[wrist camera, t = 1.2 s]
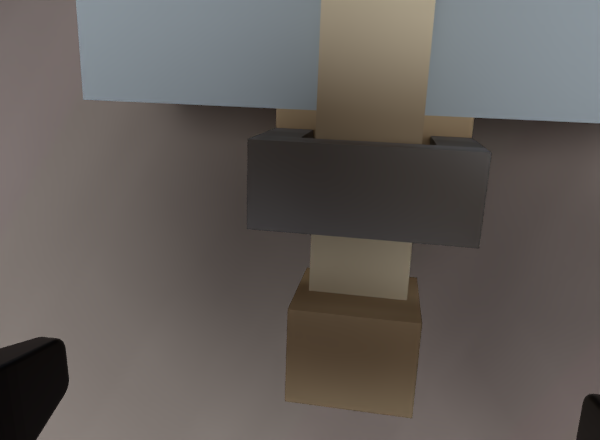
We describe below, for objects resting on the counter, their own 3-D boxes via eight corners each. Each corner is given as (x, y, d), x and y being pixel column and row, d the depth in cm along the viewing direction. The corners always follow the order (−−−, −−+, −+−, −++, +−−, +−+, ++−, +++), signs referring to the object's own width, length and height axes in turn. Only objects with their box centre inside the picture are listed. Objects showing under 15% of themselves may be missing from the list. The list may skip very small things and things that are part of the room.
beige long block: (408, 357, 15) (412, 418, 12) (303, 345, 15) (285, 401, 13) (453, -88, 12) (470, -136, 9) (321, -86, 12) (301, -132, 10)
